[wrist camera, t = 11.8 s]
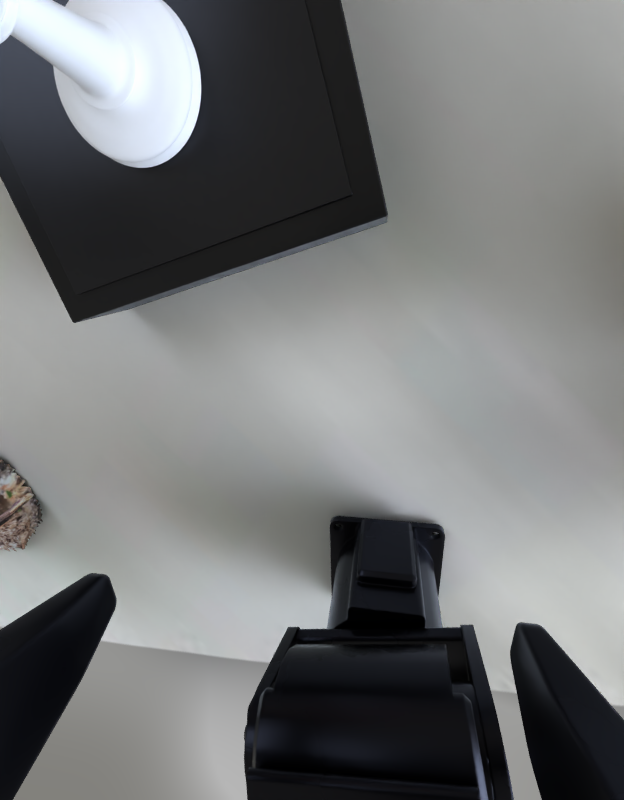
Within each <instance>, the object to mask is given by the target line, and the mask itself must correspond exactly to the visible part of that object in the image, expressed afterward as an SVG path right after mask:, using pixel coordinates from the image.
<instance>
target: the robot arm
mask: <svg viewBox="0 0 624 800" xmlns="http://www.w3.org/2000/svg"><path fill="white" fill-rule="evenodd" d="M336 524H341V525H342V526H337V525H336ZM433 532H437V533H438V534H436V535H434V534H432V533H433ZM444 540H445V535H444V529H443V528H442V526H440V525H438V524H429V523H417V522H405V521H393V520H380V519H368V518H356V517H344V516H336V517H333V518H332V520H331V524H330V546H331V585H332V600H331V606H330V613H329V619H328V626H327V629H300V627H288V629H287V631H286V633H285V635H284V637H283V638H282V640H281V642H280V644H279V646H278V648H277V650H276V652H275V654H274V656H273V658H272V660H271V662H270V664H269V666H268V668H267V670H266V672H265V674H264V676H263V678H262V680H261V682H260V684H259V686H258V687H257V690H256V692H255V695H254V697H253V699H252V701H251V703H250V705H249V708H248V713H247V725H246V727H245V732H244V740H245V752H244V753H245V754H244V763H245V776H246V784H247V799H248V800H514V798H513V792H512V787H511V782H510V776H509V771H508V766H507V760H506V756H505V751H504V746H503V742H502V737H501V732H500V727H499V723H498V718H497V714H496V710H495V706H494V702H493V698H492V694H491V690H490V686H489V683H488V679H487V675H486V671H485V668H484V664H483V660H482V657H481V653H480V649H479V646H478V642H477V638H476V634H475V631H474V627H473V625H460V626H461V627H452V628H442V621H441V614H440V607H439V600H438V595H439V586H440V576H441V567H442V558H443V549H444ZM115 607H116V596H115V593H114V590H113V587H112V584H111V581H110V578H109V577H108V576H107V575H105V574H97V573H91V574H88V575H86V576H84V577H83V578H81V579H80V580H78V581H77V582H75V583H73V584H72V585H70V586H69V587H67V588H66V589H64V590H62V591H61V592H59V593H58V594H56V595H54V596H53V597H51V598H50V599H48V600H47V601H45V602H43V603H42V604H40V605H39V606H37V607H36V608H34V609H32V610H31V611H29V612H28V613H26V614H25V615H23V616H21V617H20V618H18V619H17V620H15V621H13V622H12V623H10V624H9V625H7V626H6V627H4V628H2V629H1V630H0V800H13V799H14V797H15V795H16V793H17V792H18V790H19V788H20V786H21V784H22V783H23V781H24V779H25V778H26V776H27V774H28V773H29V771H30V769H31V767H32V766H33V764H34V762H35V760H36V759H37V757H38V755H39V753H40V752H41V750H42V748H43V746H44V745H45V743H46V741H47V739H48V738H49V736H50V734H51V732H52V731H53V729H54V727H55V725H56V724H57V722H58V720H59V718H60V717H61V715H62V713H63V712H64V710H65V708H66V706H67V705H68V703H69V701H70V699H71V698H72V696H73V694H74V692H75V691H76V689H77V687H78V685H79V683H80V682H81V680H82V678H83V676H84V674H85V672H86V670H87V668H88V666H89V664H90V661H91V659H92V657H93V655H94V653H95V651H96V648H97V647H98V644H99V642H100V640H101V638H102V636H103V634H104V632H105V630H106V627H107V625H108V623H109V621H110V619H111V617H112V615H113V613H114V610H115ZM510 657H511V664H512V670H513V675H514V680H515V685H516V690H517V695H518V700H519V706H520V711H521V716H522V721H523V726H524V731H525V736H526V742H527V746H528V751H529V756H530V759H531V763H532V767H533V771H534V774H535V777H536V781H537V785H538V788H539V791H540V795H541V798H542V800H624V720H623V718H622V717H621V716H620V715H619V714H618V713H617V712H616V711H615V709H614V708H613V707H612V706H611V705H610V704H609V702H608V701H607V700H606V699H605V698H604V697H603V695H602V694H601V693H600V692H599V691H598V690H597V689H596V687H595V686H594V685H593V684H592V683H591V682H590V681H589V679H588V678H587V677H586V676H585V675H584V674H583V673H582V671H581V670H580V669H579V668H578V667H577V666H576V665H575V663H574V662H573V661H572V660H571V659H570V658H569V656H568V655H567V654H566V653H565V652H564V651H563V650H562V648H561V647H560V646H559V645H558V644H557V643H556V642H555V640H554V639H553V638H552V637H551V636H550V635H549V634H548V632H547V631H546V630H545V629H544V628H543V627H542V626H540V625H537V624H531V623H522V622H521V623H518V624H517V626H516V629H515V633H514V637H513V641H512V645H511V650H510Z"/></svg>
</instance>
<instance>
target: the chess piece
mask: <svg viewBox="0 0 624 800" xmlns="http://www.w3.org/2000/svg"><path fill="white" fill-rule="evenodd" d="M9 35H11V36H13V37H14V38H16V39H17V40H19V41H20V42H22V43H23V44H25V45H26V46H27V47H29V48H30V49H31V50H33V51H34V52H36V53H37V54H38V55H40V56H41V57H42V58H44V59H45V60H47V61H48V62H49V63H51V64H52V65H53V69H54V76H55V82H56V86H57V90H58V93H59V96H60V99H61V102H62V104H63V107H64V109H65V111H66V113H67V115H68V117H69V119H70V120H71V122H72V124H73V125H74V127H75V128H76V129H77V131H78V132H79V133H80V135H81V136H82V137H83V138H84V139H85V140H86V141H87V142H88V143H89V144H90V145H91V146H92V147H94V148H95V149H96V150H98V151H99V152H101V153H102V154H104V155H106V156H108V157H109V158H111V159H113V160H114V161H116V162H118V163H121V164H123V165H126V166H130V167H136V168H147V167H153V166H157V165H160V164H162V163H164V162H166V161H168V160H169V159H171V158H172V157H173V156H175V155H176V154H177V153H178V152H179V151H180V150H181V149H182V148H183V146H184V145H185V144H186V142H187V141H188V139H189V137H190V135H191V133H192V131H193V129H194V127H195V124H196V121H197V117H198V113H199V109H200V102H201V75H200V68H199V63H198V59H197V55H196V51H195V48H194V46H193V43H192V41H191V38H190V36H189V34H188V32H187V30H186V28H185V26H184V25H183V23H182V22H181V20H180V19H179V17H178V16H177V15H176V13H175V12H174V11H173V10H172V9H171V8H170V7H169V6H168V5H167V4H166V3H165V2H164V1H163V0H69V1H68V3H67V4H66V6H65V7H64V6H62V5H60V4H58V3H57V2H55V1H53V0H0V44H1V43H2V42H4V41H5V40H6V39H7V38H8V37H9Z"/></svg>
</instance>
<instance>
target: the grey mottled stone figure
mask: <svg viewBox="0 0 624 800" xmlns="http://www.w3.org/2000/svg"><path fill="white" fill-rule="evenodd" d="M14 470H15V469H13V468H11V467H10V464H4V460H0V549H4V550H8V551H10V550H9V549H8V548H10V549H12V550H14V551H16V550H15V549H14V548H13V547H18V548H22V549H24V548H25V545H27V542H28V539H30V538H29V536H31V535H32V533H34V534H35V531H36V530H35V529H34V527H38V523H39V524H41V523H40V522H39V521H42V520H41V516H42V514H41V509H40V504H39V505H37V503H38V500H36V499H35V495H33V493H32V490H31V487H24V486H22V485H23V483H24V482H25V480H22V479H20V476H17V473H11V472H13V471H14ZM36 505H37V506H36ZM38 520H39V521H38ZM27 538H28V539H27ZM16 552H17V551H16Z"/></svg>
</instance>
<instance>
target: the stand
mask: <svg viewBox="0 0 624 800" xmlns="http://www.w3.org/2000/svg"><path fill="white" fill-rule="evenodd" d="M53 1H55V2H57V3H58V4H60V5H62V6H64V7H65V6H66V4H67V3H68V1H69V0H53ZM163 1H164V2H165V3H166V4H167V5H168V6H169V7H170V8H171V9H172V10H173V11H174V12H175V13H176V15H177V16H178V17H179V19H180V20H181V22H182V23H183V25H184V26H185V28H186V30H187V32H188V34H189V36H190V38H191V41H192V43H193V46H194V48H195V51H196V55H197V59H198V63H199V68H200V75H201V102H200V109H199V113H198V117H197V121H196V124H195V127H194V129H193V131H192V133H191V135H190V137H189V139H188V141H187V142H186V144H185V145H184V146H183V148H182V149H181V150H180V151H179V152H178V153H177V154H176V155H175V156H173V157H172V158H171V159H169V160H168V161H166V162H164V163H162V164H160V165H157V166H153V167H147V168H136V167H130V166H126V165H123V164H121V163H118V162H116V161H114V160H113V159H111V158H109V157H108V156H106V155H104V154H102V153H101V152H99V151H98V150H96V149H95V148H94V147H92V146H91V145H90V144H89V143H88V142H87V141H86V140H85V139H84V138H83V137H82V136H81V135H80V133H79V132H78V131H77V129H76V128H75V127H74V125H73V124H72V122H71V120H70V119H69V117H68V115H67V113H66V111H65V109H64V107H63V104H62V102H61V99H60V96H59V93H58V90H57V86H56V82H55V76H54V69H53V65H52V64H51V63H49V62H48V61H47V60H45V59H44V58H42V57H41V56H40V55H38V54H37V53H36V52H34V51H33V50H31V49H30V48H29V47H27V46H26V45H25V44H23V43H22V42H20V41H19V40H17V39H16V38H14V37H13V36H11V35H9V37H8V38H7V39H6V40H5V41H4V42H2V43H1V44H0V177H1V179H2V181H3V183H4V185H5V187H6V189H7V191H8V193H9V195H10V197H11V199H12V201H13V203H14V205H15V207H16V209H17V211H18V213H19V215H20V217H21V219H22V221H23V223H24V225H25V227H26V229H27V231H28V233H29V235H30V237H31V239H32V241H33V243H34V245H35V247H36V249H37V251H38V253H39V255H40V257H41V259H42V261H43V263H44V265H45V267H46V269H47V271H48V273H49V275H50V277H51V279H52V281H53V283H54V285H55V287H56V289H57V291H58V293H59V295H60V297H61V299H62V301H63V303H64V305H65V308H66V310H67V312H68V314H69V316H70V318H71V320H72V322H74V323H76V322H80V321H84V320H88V319H92V318H96V317H100V316H104V315H108V314H112V313H116V312H120V311H124V310H128V309H131V308H134V307H137V306H140V305H143V304H146V303H149V302H152V301H155V300H158V299H161V298H163V297H166V296H169V295H172V294H175V293H178V292H181V291H184V290H187V289H190V288H193V287H196V286H199V285H202V284H205V283H208V282H211V281H214V280H217V279H220V278H223V277H226V276H229V275H232V274H235V273H238V272H241V271H244V270H247V269H250V268H253V267H256V266H259V265H262V264H264V263H267V262H270V261H273V260H276V259H279V258H282V257H285V256H288V255H291V254H294V253H297V252H300V251H303V250H306V249H309V248H312V247H315V246H318V245H321V244H324V243H327V242H330V241H333V240H336V239H339V238H342V237H345V236H348V235H351V234H354V233H357V232H360V231H362V230H365V229H368V228H371V227H374V226H377V225H380V224H383V223H386V222H387V218H388V213H387V208H386V204H385V199H384V194H383V190H382V185H381V181H380V176H379V172H378V167H377V163H376V158H375V153H374V149H373V144H372V140H371V135H370V131H369V126H368V122H367V117H366V113H365V108H364V103H363V99H362V94H361V90H360V85H359V81H358V76H357V72H356V67H355V62H354V58H353V53H352V49H351V44H350V40H349V35H348V31H347V26H346V21H345V17H344V12H343V8H342V3H341V0H163Z"/></svg>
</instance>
